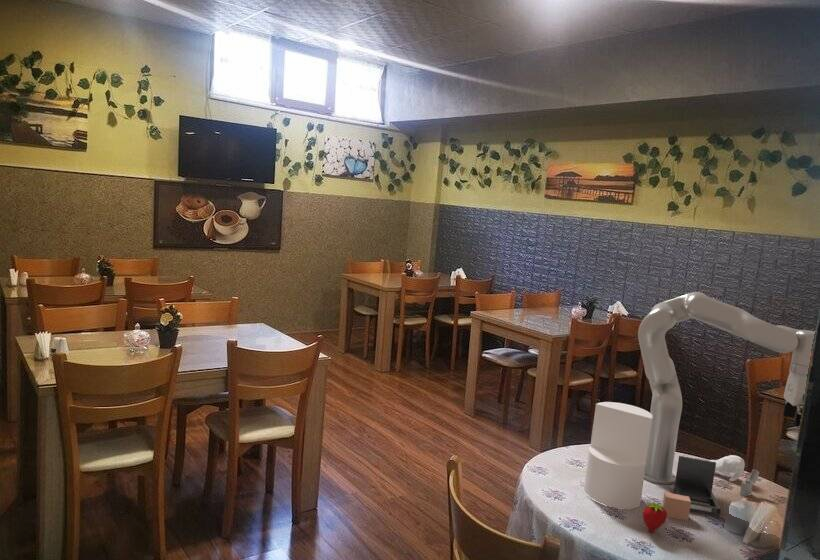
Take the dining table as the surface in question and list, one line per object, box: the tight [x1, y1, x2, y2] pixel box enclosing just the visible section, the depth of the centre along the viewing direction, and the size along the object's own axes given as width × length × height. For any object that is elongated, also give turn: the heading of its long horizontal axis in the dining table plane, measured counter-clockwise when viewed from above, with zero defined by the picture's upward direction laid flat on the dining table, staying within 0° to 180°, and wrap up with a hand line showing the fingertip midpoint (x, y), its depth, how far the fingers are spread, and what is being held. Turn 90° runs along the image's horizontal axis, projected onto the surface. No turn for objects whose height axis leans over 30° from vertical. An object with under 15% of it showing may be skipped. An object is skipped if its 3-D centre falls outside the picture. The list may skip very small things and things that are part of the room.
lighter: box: [739, 469, 760, 497], centre depth 204 cm, size 7×2×8 cm, turn 122°
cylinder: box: [583, 401, 653, 510], centre depth 192 cm, size 17×17×28 cm
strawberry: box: [641, 499, 667, 533], centre depth 172 cm, size 6×8×10 cm
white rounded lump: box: [708, 454, 746, 482], centre depth 216 cm, size 6×8×12 cm
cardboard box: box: [661, 491, 691, 522], centre depth 184 cm, size 7×4×6 cm, turn 75°
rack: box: [673, 455, 722, 518], centre depth 193 cm, size 11×14×12 cm
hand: (794, 421), depth 194 cm, fingers open, 9 cm apart
